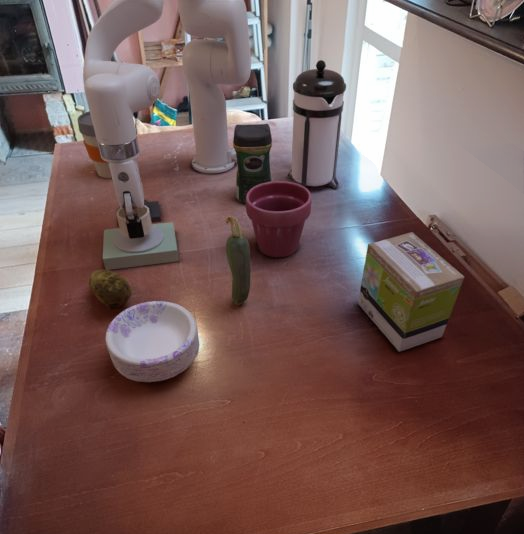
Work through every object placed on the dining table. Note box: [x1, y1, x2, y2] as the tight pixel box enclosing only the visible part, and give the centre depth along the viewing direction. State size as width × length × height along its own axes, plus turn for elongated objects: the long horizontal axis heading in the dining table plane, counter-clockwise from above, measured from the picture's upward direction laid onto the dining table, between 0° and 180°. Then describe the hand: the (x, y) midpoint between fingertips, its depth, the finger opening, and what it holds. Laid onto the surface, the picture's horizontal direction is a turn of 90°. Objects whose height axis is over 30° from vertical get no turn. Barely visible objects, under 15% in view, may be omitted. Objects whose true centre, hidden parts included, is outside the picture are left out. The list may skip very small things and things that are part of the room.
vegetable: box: [225, 215, 252, 306], centre depth 89 cm, size 4×4×20 cm
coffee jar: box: [232, 123, 273, 204], centre depth 120 cm, size 10×8×19 cm
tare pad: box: [118, 199, 162, 223], centre depth 120 cm, size 10×8×3 cm
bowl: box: [116, 204, 153, 237], centre depth 104 cm, size 7×7×5 cm
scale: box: [102, 221, 180, 271], centre depth 109 cm, size 16×12×4 cm
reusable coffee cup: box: [77, 110, 112, 179], centre depth 133 cm, size 13×13×15 cm
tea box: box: [357, 231, 465, 353], centre depth 87 cm, size 15×10×15 cm, turn 23°
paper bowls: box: [104, 300, 200, 383], centre depth 83 cm, size 15×15×8 cm
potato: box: [88, 268, 132, 310], centre depth 95 cm, size 8×13×8 cm, turn 12°
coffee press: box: [287, 59, 347, 190], centre depth 123 cm, size 17×16×30 cm
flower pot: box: [245, 180, 312, 258], centre depth 106 cm, size 14×14×13 cm
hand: (136, 227), depth 105 cm, fingers closed on bowl, 7 cm apart
